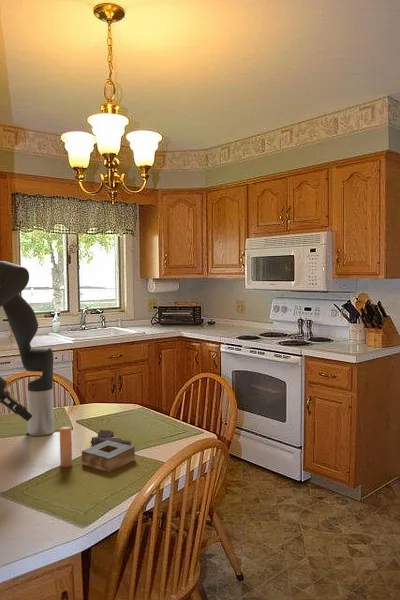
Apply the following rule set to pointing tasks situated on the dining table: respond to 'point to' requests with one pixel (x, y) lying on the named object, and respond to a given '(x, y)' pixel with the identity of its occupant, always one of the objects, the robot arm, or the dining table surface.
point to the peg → (65, 447)
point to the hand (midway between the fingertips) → (27, 415)
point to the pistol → (107, 438)
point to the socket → (108, 455)
